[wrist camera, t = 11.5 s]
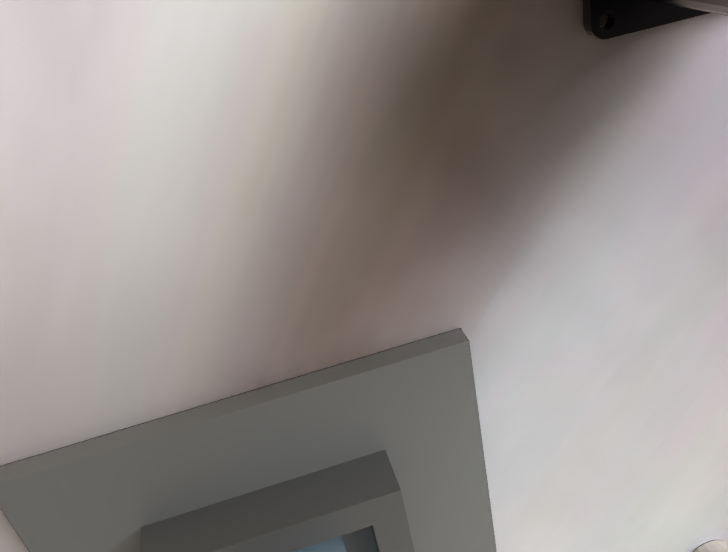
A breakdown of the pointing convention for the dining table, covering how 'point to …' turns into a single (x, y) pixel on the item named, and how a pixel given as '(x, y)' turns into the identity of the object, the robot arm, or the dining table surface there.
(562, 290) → the dining table surface
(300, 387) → the chassis plate
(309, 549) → the block
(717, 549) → the light bulb
